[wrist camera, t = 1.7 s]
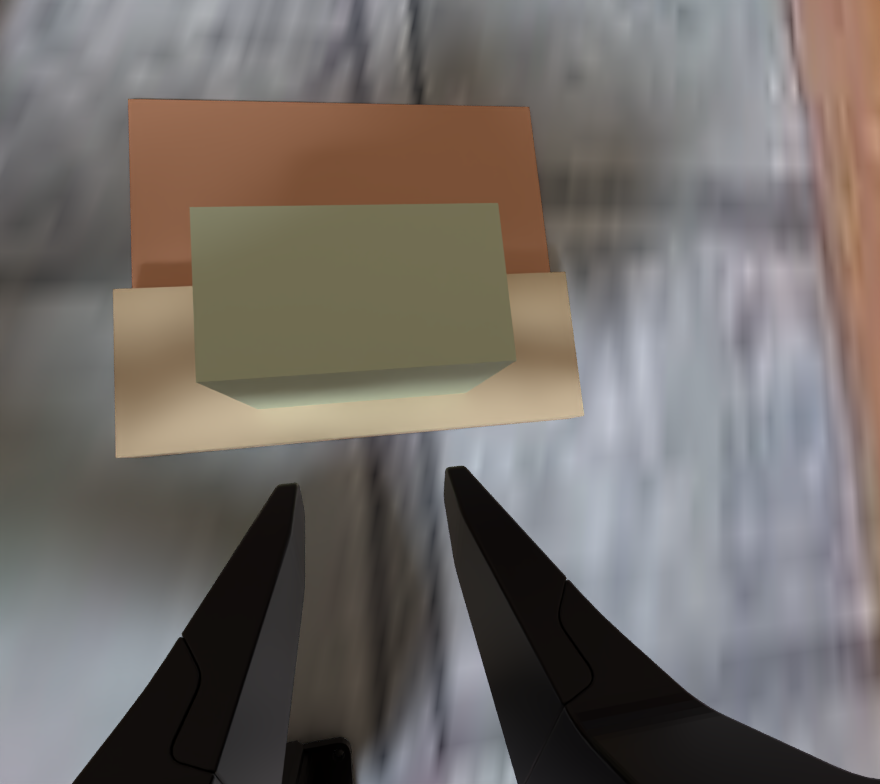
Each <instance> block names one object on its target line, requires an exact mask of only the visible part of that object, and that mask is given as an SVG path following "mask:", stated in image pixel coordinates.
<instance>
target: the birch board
mask: <svg viewBox="0 0 880 784" xmlns="http://www.w3.org/2000/svg"><path fill="white" fill-rule="evenodd" d="M507 283H508V291H509V300H510V308H511V317H512V326H513V334H514V343H515V351H516V361H515V362H513V363H512V364H510V365H509V366H507V367H505V368H504V369H502V370H501V371H499V372H498V373H496V374H495V375H493V376H491V377H490V378H488V379H487V380H485V381H484V382H482V383H481V384H479V385H477V386H476V387H474V388H473V389H471V390H470V391H468V392H467V393H459V394H446V395H433V396H421V397H408V398H395V399H382V400H370V401H357V402H344V403H331V404H319V405H306V406H293V407H280V408H268V409H256V408H254V407H251V406H249V405H247V404H244V403H242V402H240V401H238V400H235V399H233V398H231V397H228V396H226V395H224V394H222V393H219V392H217V391H215V390H212V389H210V388H208V387H206V386H203V385H201V384H199V383H196V369H195V341H194V314H193V287H192V286H182V287H156V288H130V289H113V317H114V379H115V441H116V458H141V457H152V456H163V455H175V454H186V453H197V452H208V451H219V450H230V449H241V448H252V447H263V446H274V445H285V444H296V443H307V442H318V441H329V440H340V439H351V438H362V437H373V436H384V435H395V434H407V433H418V432H429V431H440V430H451V429H462V428H473V427H484V426H495V425H506V424H517V423H528V422H539V421H550V420H561V419H569V418H575V417H580V416H584V411H583V403H582V396H581V388H580V381H579V373H578V366H577V358H576V350H575V343H574V335H573V328H572V320H571V313H570V305H569V297H568V290H567V282H566V275H565V272H548V273H521V274H507Z"/></svg>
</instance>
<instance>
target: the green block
mask: <svg viewBox="0 0 880 784" xmlns="http://www.w3.org/2000/svg"><path fill="white" fill-rule="evenodd" d="M190 232H191V259H192V287H193V314H194V341H195V369H196V383H199V384H201V385H203V386H206V387H208V388H210V389H212V390H215V391H217V392H219V393H222V394H224V395H226V396H228V397H231V398H233V399H235V400H238V401H240V402H242V403H244V404H247V405H249V406H251V407H254V408H256V409H268V408H280V407H293V406H306V405H319V404H331V403H344V402H357V401H370V400H382V399H395V398H408V397H421V396H433V395H446V394H459V393H467V392H468V391H470V390H471V389H473V388H474V387H476V386H477V385H479V384H481V383H482V382H484V381H485V380H487V379H488V378H490V377H491V376H493V375H495V374H496V373H498V372H499V371H501V370H502V369H504V368H505V367H507V366H509V365H510V364H512V363H513V362H515V361H516V351H515V343H514V334H513V326H512V317H511V308H510V300H509V291H508V283H507V274H506V266H505V257H504V249H503V240H502V232H501V223H500V214H499V206H498V203H456V204H383V205H309V206H235V207H190Z"/></svg>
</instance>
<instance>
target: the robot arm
mask: <svg viewBox="0 0 880 784" xmlns="http://www.w3.org/2000/svg"><path fill="white" fill-rule="evenodd" d="M444 503H445V509H446V515H447V521H448V528H449V534H450V540H451V546H452V552H453V558H454V563H455V568H456V572H457V576H458V579H459V583H460V586H461V590H462V593H463V597H464V600H465V603H466V607H467V610H468V614H469V617H470V621H471V624H472V628H473V631H474V635H475V638H476V641H477V645H478V648H479V652H480V655H481V659H482V662H483V666H484V669H485V673H486V676H487V679H488V683H489V686H490V690H491V693H492V697H493V700H494V704H495V707H496V711H497V714H498V717H499V721H500V724H501V728H502V731H503V735H504V738H505V742H506V745H507V749H508V752H509V755H510V759H511V762H512V766H513V769H514V773H515V776H516V780H517V783H518V784H880V779H875V778H868V777H865V776H861V775H858V774H854V773H851V772H848V771H846V770H843V769H841V768H838V767H836V766H834V765H831V764H829V763H827V762H825V761H823V760H821V759H818V758H816V757H814V756H812V755H810V754H808V753H805V752H803V751H801V750H799V749H797V748H795V747H792V746H790V745H788V744H786V743H784V742H782V741H779V740H777V739H775V738H773V737H771V736H769V735H766V734H764V733H762V732H760V731H758V730H756V729H753V728H751V727H749V726H747V725H745V724H743V723H740V722H738V721H736V720H734V719H732V718H730V717H727V716H725V715H723V714H721V713H719V712H717V711H716V710H714V709H712V708H710V707H709V706H707V705H705V704H704V703H702V702H701V701H699V700H698V699H697V698H695V697H694V696H693V695H691V694H690V693H689V692H687V691H686V690H685V689H684V688H683V687H681V686H680V685H679V684H678V683H677V682H676V681H674V680H673V679H672V678H671V677H670V676H669V675H668V674H667V673H666V672H664V671H663V670H662V669H661V668H660V667H659V666H658V665H657V664H655V663H654V662H653V661H652V660H651V659H650V658H649V657H648V656H647V655H645V654H644V653H643V652H642V651H641V650H640V649H639V648H638V647H637V646H635V645H634V644H633V643H632V642H631V641H630V640H629V639H628V638H627V637H625V636H624V635H623V634H622V633H621V632H620V631H619V630H618V629H617V628H616V627H615V626H614V625H612V624H611V623H610V622H609V621H608V620H607V619H606V618H605V617H604V616H603V615H602V614H601V613H600V612H599V611H598V610H597V609H596V608H595V607H594V606H593V605H592V604H591V603H590V602H589V601H588V600H587V599H586V598H585V597H584V596H583V595H582V594H581V592H580V591H579V590H578V589H577V588H576V587H575V586H574V585H573V584H572V582H571V581H570V580H566V576H565V575H564V574H563V573H562V572H561V571H560V570H559V568H558V567H557V566H556V565H555V564H554V563H553V562H552V561H551V560H550V559H549V558H548V556H547V555H546V554H545V553H544V552H543V551H542V550H541V549H540V548H539V547H538V546H537V544H536V543H535V542H534V541H533V540H532V539H531V538H530V537H529V536H528V535H527V534H526V532H525V531H524V530H523V529H522V528H521V527H520V526H519V525H518V524H517V523H516V522H515V520H514V519H513V518H512V517H511V516H510V515H509V514H508V513H507V512H506V511H505V510H504V508H503V507H502V506H501V505H500V504H499V503H498V502H497V501H496V500H495V499H494V498H493V496H492V495H491V494H490V493H489V492H488V491H487V490H486V489H485V488H484V487H483V486H482V484H481V483H480V482H479V481H478V480H477V479H476V478H475V477H474V476H473V475H472V474H471V472H470V471H469V470H468V469H467V468H466V467H464V466H454V467H448V468H446V470H445V481H444ZM304 589H305V514H304V506H303V502H302V497H301V492H300V487H299V485H298V484H297V483H289V484H280V485H278V486H277V487H276V488H275V490H274V491H273V493H272V494H271V496H270V497H269V499H268V501H267V502H266V504H265V505H264V507H263V508H262V510H261V511H260V513H259V515H258V516H257V518H256V519H255V521H254V522H253V524H252V525H251V527H250V528H249V530H248V532H247V533H246V535H245V536H244V538H243V539H242V541H241V542H240V544H239V546H238V547H237V549H236V550H235V552H234V553H233V555H232V556H231V558H230V560H229V561H228V563H227V564H226V566H225V567H224V569H223V570H222V572H221V573H220V575H219V577H218V578H217V580H216V581H215V583H214V584H213V586H212V587H211V589H210V591H209V592H208V594H207V595H206V597H205V598H204V600H203V601H202V603H201V605H200V606H199V608H198V609H197V611H196V612H195V614H194V615H193V617H192V618H191V620H190V622H189V623H188V625H187V626H186V628H185V629H184V631H183V632H182V636H183V637H179V638H178V640H177V641H176V643H175V644H174V646H173V648H172V649H171V651H170V652H169V654H168V655H167V657H166V659H165V660H164V661H163V663H162V664H161V666H160V667H159V669H158V670H157V672H156V673H155V675H154V676H153V678H152V679H151V681H150V682H149V684H148V685H147V686H146V688H145V689H144V691H143V692H142V693H141V695H140V696H139V697H138V699H137V700H136V701H135V703H134V704H133V705H132V707H131V708H130V709H129V711H128V712H127V713H126V715H125V716H124V717H123V719H122V720H121V721H120V723H119V724H118V725H117V726H116V728H115V729H114V730H113V732H112V733H111V734H110V735H109V737H108V738H107V739H106V740H105V742H104V743H103V744H102V746H101V747H100V748H99V749H98V751H97V752H96V753H95V755H94V756H93V757H92V758H91V760H90V761H89V762H88V764H87V765H86V766H85V767H84V769H83V770H82V771H81V773H80V774H79V775H78V776H77V778H76V779H75V780H74V782H73V783H72V784H353V770H352V755H351V746H350V743H349V741H348V740H347V739H345V738H343V737H337V738H332V739H327V740H322V741H316V742H311V743H306V744H302V743H300V742H298V741H294V742H288V743H286V742H287V733H288V725H289V717H290V708H291V700H292V692H293V683H294V675H295V667H296V658H297V650H298V641H299V633H300V625H301V616H302V608H303V600H304ZM337 749H342V750H343V751H344V754H343V755H341V756H336V755H335V754H334V751H335V750H337Z"/></svg>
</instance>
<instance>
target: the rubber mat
mask: <svg viewBox="0 0 880 784" xmlns="http://www.w3.org/2000/svg"><path fill="white" fill-rule="evenodd" d="M128 113H129V161H130V208H131V256H132V288H156V287H182V286H192V259H191V232H190V207H235V206H309V205H383V204H456V203H498V206H499V214H500V223H501V232H502V240H503V249H504V257H505V266H506V274H521V273H548V272H550V266H549V258H548V250H547V242H546V235H545V227H544V219H543V211H542V204H541V196H540V188H539V180H538V172H537V165H536V157H535V149H534V141H533V133H532V126H531V118H530V110H529V107H504V106H454V105H404V104H353V103H303V102H252V101H202V100H152V99H128Z"/></svg>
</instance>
